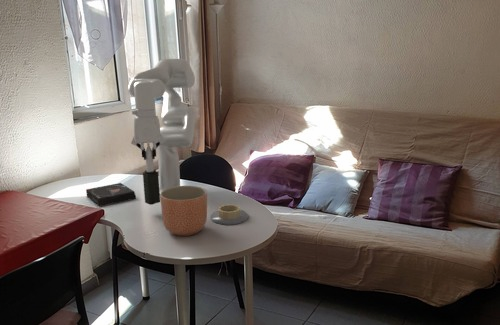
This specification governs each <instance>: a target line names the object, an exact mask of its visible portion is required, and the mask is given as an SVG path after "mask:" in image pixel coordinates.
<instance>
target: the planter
mask: <svg viewBox="0 0 500 325" xmlns="http://www.w3.org/2000/svg"><path fill="white" fill-rule="evenodd" d="M207 191H208V190H207V189H205V188H203V187H201V186H197V185H180V186H176V187H171V188H168V189H165V190H163V191H162V192H161V194H160V207H161V208H160V209H161V219H162V224H163V226H164V227H165V229H166V230H167V231H168V232H169V233H171V234H173V235H174V236H178V237H188V236H193V235H195V234H198V233H199V232H201V230H203V229H204V228H205V225H206V223H207V218H208V192H207Z"/></svg>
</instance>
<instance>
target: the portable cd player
mask: <svg viewBox="0 0 500 325" xmlns="http://www.w3.org/2000/svg"><path fill="white" fill-rule="evenodd" d="M85 192H86V197H87V198H88V199H89V200H90V201H91V202H93V203H94V204H95V205H96V206H97V207H103V206H107V205H112V204H117V203H122V202H125V201H130V200H131V201H132V200H135V199H136V197H137V196H136V192H135V191H134V190H133V189H131V188H130V187H128V186H126V185H124V184H123V183H122V182H117V183H114V184H113V183H112V184H108V185H102V186H97V187H93V188H92V187H91V188H87V189H86V190H85Z"/></svg>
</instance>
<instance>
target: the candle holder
mask: <svg viewBox="0 0 500 325" xmlns="http://www.w3.org/2000/svg"><path fill="white" fill-rule="evenodd" d="M248 217H249V214H248V212H247V211H244V210H242V209H241V207H240V206H239V205H237V204H232V203H231V204H223V205H220V206H218V207H217V210H215V211H213V212H212V213H211V214H210V220H211V221H212V222H213V223H215V224H219V225H223V226H235V225H239V224H243V223H244V222H246V221H247V220H248V219H249V218H248Z"/></svg>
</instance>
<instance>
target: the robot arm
mask: <svg viewBox="0 0 500 325" xmlns="http://www.w3.org/2000/svg"><path fill="white" fill-rule="evenodd" d="M194 73H195V72H194V71H193V69H192V66H191V65H190V64H189V62H188V61H187V60H186V59H184V58H164V59H161V60H159V61H158V62H157V63H156V64H155V66H154V67H153V68H149V69H147V70H144V71H142V72H139V73H136V74H134V76H133V77H132V78H131V79H130V81H129V84H128V93H129V95H130V96H131V97H132V98H134V101H135V102H134V103H135V104H134V105H135V106H134V107H135V109H134V110H132V111H131V114H132V115H133V116H135V117H134V120H133V137H132V140H131V142H130V143H131V145H133V146H136V147H137V148H139V149H140V150H141V158H143V160H144V161H146V155H145V151H146V149H145V144H148V143H149V144H151V143H152V148H151V150H152V153H153V160H155V158H156V157H158V177H159V191H160V194H161V192H162V191H163V190H165V189H168V188H171V187H176V186H181V178H180V177H181V175H180V174H181V173H180V156H179V153H178V151H177V150H176V148H188V147H191V146H192V144H193V141H194V134H195V125H196V113H195V110H194V108H193V107H191V106H187V105H185V106H184V105H183V106H182V97H181V95H180V94H179V93H178V92H177V91H176V89H178V88H179V89H180V88H181V89H182V88H183V89H188V88H192V87H194V85H195V82H196V79H195V78H196V76H195V74H194ZM174 88H175V89H174ZM158 98H159V99H160V98H163V102H162V109H161V117H160V119H159V117H158V115H157V112H156V99H158ZM160 120H161V124H162V125H164V126H161V125H160Z"/></svg>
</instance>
